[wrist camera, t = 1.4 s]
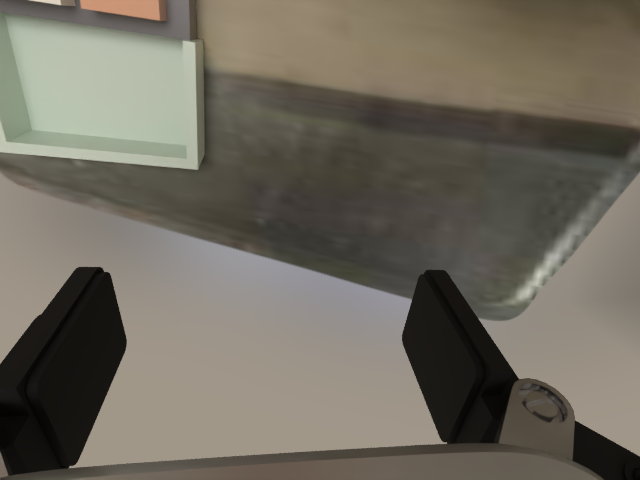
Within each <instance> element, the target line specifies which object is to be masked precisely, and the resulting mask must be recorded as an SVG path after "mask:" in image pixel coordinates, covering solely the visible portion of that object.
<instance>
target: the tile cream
mask: <svg viewBox="0 0 640 480" xmlns="http://www.w3.org/2000/svg"><path fill="white" fill-rule="evenodd" d="M31 1H37V2H44V3H50V4H56V5H65V6H76V5H75V0H31Z"/></svg>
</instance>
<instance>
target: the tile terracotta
mask: <svg viewBox="0 0 640 480" xmlns="http://www.w3.org/2000/svg"><path fill="white" fill-rule="evenodd" d="M80 3H81V8H82V9H88V10H95V11H101V12H107V13H114V14H120V15H127V16H133V17H139V18H146V19H152V20H158V21H167V10H166V0H80Z"/></svg>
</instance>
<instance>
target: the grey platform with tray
mask: <svg viewBox="0 0 640 480" xmlns="http://www.w3.org/2000/svg"><path fill="white" fill-rule="evenodd" d="M75 5H76V6H65V5H56V4H50V3H44V2H37V1H31V0H0V152H7V153H18V154H29V155H40V156H51V157H63V158H74V159H85V160H96V161H107V162H118V163H129V164H140V165H151V166H163V167H174V168H185V169H196V170H198V168H199V166H200V164H201V162H202V159H203V157H204V155H205V120H204V40H202V39H197V22H196V0H166V10H167V21H158V20H152V19H146V18H139V17H133V16H127V15H120V14H114V13H107V12H101V11H95V10H88V9H82V8H81V3H80V0H75Z"/></svg>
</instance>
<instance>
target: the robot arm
mask: <svg viewBox="0 0 640 480" xmlns="http://www.w3.org/2000/svg"><path fill="white" fill-rule="evenodd" d="M126 341H127V340H126V335H125V331H124V327H123V323H122V320H121V315H120V312H119V307H118V304H117V299H116V295H115V291H114V287H113V283H112V279H111V275H110V273H108V272H104V270H103V269H102V268H101V267H78V268H76V270H75V271H74V272H73V273H72V275H71V276H70V277H69V279H68V280H67V281H66V283H65V284H64V285H63V287H62V288H61V289H60V291H59V292H58V293H57V294H56V296H55V297H54V298H53V300H52V301H51V302H50V304H49V305H48V306H47V308H46V309H45V310H44V312H43V313H42V314H41V315H39V316H38V317H37V318H36V319H35V320H34V321H33V322H32V323H31V325H30V326H29V327H28V329H27V330H26V331H25V333H24V334H23V335H22V336H21V338H20V339H19V340H18V342H17V343H16V344H15V346H14V347H13V348H12V350H11V351H10V352H9V353H8V355H7V356H6V358H5V359H4V360H3V361H2V363H1V364H0V480H640V457H639V456H637V455H636V454H634V453H632V452H630V451H629V450H627V449H625V448H623V447H622V446H620V445H618V444H616V443H614V442H613V441H611V440H609V439H607V438H605V437H604V436H602V435H600V434H598V433H596V432H595V431H593V430H591V429H589V428H588V427H586V426H584V425H582V424H580V423H579V422H577V421H575V416H574V411H573V409H572V407H571V405H570V403H569V402H568V400H567V399H566V398H565V397H564V396H563V395H562V394H561V393H560V392H559V391H557V390H556V389H555V388H553V387H551V386H550V385H548V384H546V383H544V382H542V381H539V380H536V379H530V378H526V379H520V380H519V379H518V377H517V376H516V374H515V373H514V371H513V370H512V368H511V367H510V365H509V364H508V362H507V361H506V359H505V358H504V356H503V355H502V353H501V352H500V350H499V349H498V347H497V346H496V344H495V343H494V341H493V340H492V339H491V337H490V335H489V334H488V333H487V331H486V330H485V328H484V327H483V325H482V324H481V322H480V321H479V319H478V318H477V316H476V315H475V313H474V312H473V310H472V309H471V308H470V306H469V305H468V303H467V302H466V300H465V299H464V297H463V296H462V294H461V293H460V291H459V290H458V288H457V287H456V285H455V284H454V282H453V281H452V279H451V278H450V276H449V275H448V273H447V272H446V271H444V270H426V271H425V272H424V274H421V275H420V276H419V278H418V282H417V285H416V289H415V292H414V296H413V299H412V303H411V306H410V310H409V313H408V316H407V320H406V323H405V327H404V330H403V334H402V341H403V346H404V348H405V351H406V353H407V356H408V358H409V361H410V363H411V366H412V368H413V371H414V374H415V376H416V378H417V381H418V384H419V386H420V389H421V391H422V394H423V396H424V399H425V401H426V404H427V406H428V409H429V411H430V413H431V416H432V419H433V421H434V424H435V426H436V429H437V431H438V434H439V436H440V438H441V440H442V441H443V442H447V444H436V445H414V446H396V447H379V448H361V449H345V450H327V451H311V452H295V453H279V454H263V455H247V456H232V457H217V458H202V459H187V460H174V461H158V462H144V463H129V464H117V465H104V466H93V467H80V468H69V466H73V465H75V464H76V463H77V462H78V460H79V457H80V455H81V453H82V451H83V448H84V446H85V444H86V441H87V439H88V436H89V434H90V432H91V430H92V427H93V425H94V423H95V420H96V418H97V416H98V413H99V411H100V409H101V406H102V404H103V402H104V399H105V397H106V395H107V392H108V390H109V388H110V385H111V383H112V381H113V378H114V376H115V374H116V371H117V369H118V367H119V364H120V362H121V360H122V357H123V355H124V353H125V350H126V343H127V342H126ZM68 468H69V469H68Z"/></svg>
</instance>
